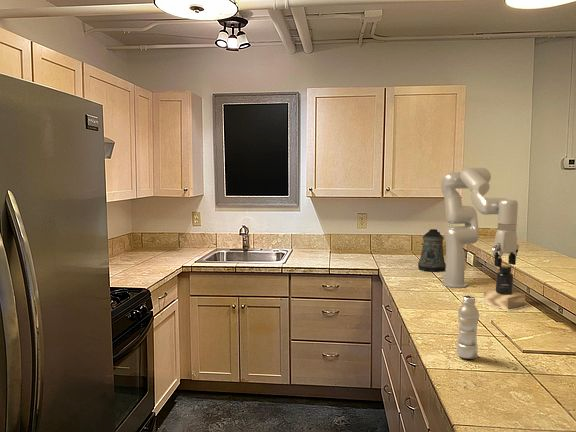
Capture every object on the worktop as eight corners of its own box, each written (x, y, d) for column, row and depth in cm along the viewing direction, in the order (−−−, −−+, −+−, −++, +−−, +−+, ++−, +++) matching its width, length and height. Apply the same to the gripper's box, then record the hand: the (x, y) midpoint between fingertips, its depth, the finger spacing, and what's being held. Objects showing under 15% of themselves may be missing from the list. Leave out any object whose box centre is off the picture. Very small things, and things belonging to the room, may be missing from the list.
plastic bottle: (472, 353, 151) (474, 294, 149) (481, 361, 144) (483, 299, 142) (452, 353, 151) (454, 294, 149) (461, 361, 144) (463, 300, 142)
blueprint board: (478, 304, 208) (478, 301, 208) (498, 299, 215) (498, 297, 215) (510, 313, 194) (510, 310, 194) (530, 308, 201) (530, 306, 201)
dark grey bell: (418, 271, 277) (419, 231, 275) (417, 265, 296) (418, 227, 294) (447, 273, 273) (448, 231, 271) (443, 266, 292) (445, 228, 290)
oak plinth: (483, 302, 207) (484, 291, 206) (500, 299, 212) (501, 288, 212) (507, 309, 196) (508, 298, 196) (524, 305, 202) (525, 294, 202)
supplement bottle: (503, 295, 200) (504, 268, 199) (492, 291, 206) (493, 265, 205) (516, 294, 202) (517, 267, 201) (504, 290, 208) (506, 264, 207)
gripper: (511, 225, 209) (509, 261, 211) (486, 227, 200) (484, 265, 202) (527, 227, 202) (524, 265, 204) (502, 229, 194) (499, 269, 196)
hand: (504, 265), depth 203 cm, fingers open, 9 cm apart
